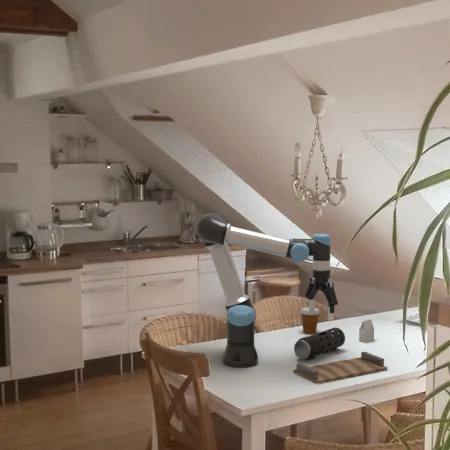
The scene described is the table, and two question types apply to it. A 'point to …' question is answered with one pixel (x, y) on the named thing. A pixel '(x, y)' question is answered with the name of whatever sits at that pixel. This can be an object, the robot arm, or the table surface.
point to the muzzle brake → (319, 343)
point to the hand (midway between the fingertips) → (320, 317)
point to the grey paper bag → (366, 332)
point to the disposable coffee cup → (309, 320)
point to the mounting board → (341, 368)
